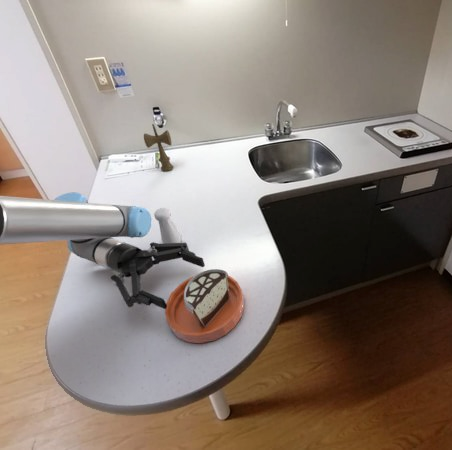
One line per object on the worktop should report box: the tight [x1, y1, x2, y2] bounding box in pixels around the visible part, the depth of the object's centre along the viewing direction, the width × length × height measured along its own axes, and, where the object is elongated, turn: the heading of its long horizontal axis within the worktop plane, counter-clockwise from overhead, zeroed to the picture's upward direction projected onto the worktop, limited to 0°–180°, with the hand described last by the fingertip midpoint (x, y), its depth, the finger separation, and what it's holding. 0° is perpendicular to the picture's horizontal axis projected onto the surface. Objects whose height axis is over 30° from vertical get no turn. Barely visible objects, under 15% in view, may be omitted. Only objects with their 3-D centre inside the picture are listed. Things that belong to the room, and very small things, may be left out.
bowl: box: [164, 275, 245, 344], centre depth 76 cm, size 18×18×4 cm
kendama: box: [143, 123, 174, 172], centre depth 126 cm, size 6×10×20 cm, turn 107°
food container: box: [184, 268, 230, 328], centre depth 74 cm, size 12×6×10 cm, turn 151°
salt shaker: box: [153, 207, 183, 244], centre depth 92 cm, size 6×6×13 cm
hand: (185, 282), depth 73 cm, fingers open, 13 cm apart
